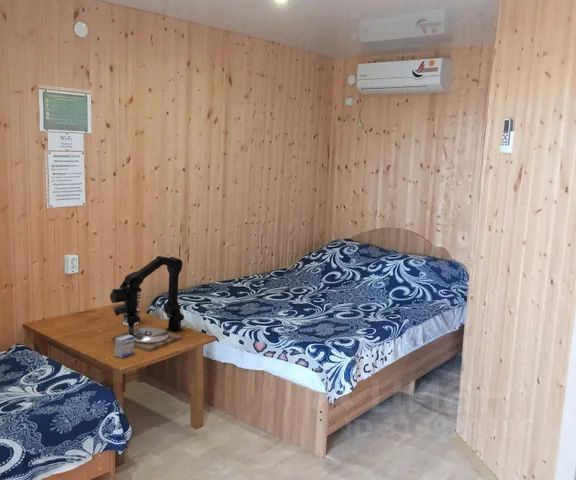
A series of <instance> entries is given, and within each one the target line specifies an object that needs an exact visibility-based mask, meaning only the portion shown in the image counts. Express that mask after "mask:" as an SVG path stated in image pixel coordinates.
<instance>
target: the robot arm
mask: <svg viewBox="0 0 576 480" xmlns="http://www.w3.org/2000/svg"><path fill="white" fill-rule="evenodd" d="M162 266H166V269H167V271H168V294H167V295H168V297H167V299H168V300H167V301H166V302H164V303H163V312H164V313H165V315H166V317H167V318H169V319H168V327H167V328H165V329H166V330H165V331H171V332H172V333H177V332H180V331H181V330H183V328H182V326H181V325H182V321H183V320H184V318H185V315H184V314H183V313H181V307H180V303H179V301H178V297H179V295H178V293H179V278H180V277H179V275H180V273H181V271H182V270H183V261H182V259H180V258H178V257H175V256H170V257H167V256H162V255H158V256H156V258H154V259H153V260H152V261H150V262H149V263H148V264H146V265H144V266H142V268H140V269H139V270H137V271H134V272H131V273H129V274H127V275H126V276H125V277H124V280H123V282H122V283H121V285H120V286H119V288H112V291H111V292H110V295H109V298H110V299H109V300H110V301H111V303H112V304H116V303H117V304H118V303H122V304H119V305H117V306H114V307H113V308H112V309H113V312H114V315H115V316H116V317H118V316H120V315H123V313H125V315H123V316H124V317H125V319H126V321H127V322H128V325H127V327H128V328H129V326H130V325H133V326H135V325H134V324H135V322H139V323H140V322H141V317H140V314H139V315H138V314H135V313H138V311H137V305H138V302H137V299H138V291H141V292H142V291H143V289H142V288H141V286H140V287H139V285H141V284H143V283H144V280H145V279H146V278H147V277H149V276H151V274H153V273H154V272H155V271H157V270H158V269H160V268H161V267H162ZM127 286H130V287H127ZM140 288H141V289H140ZM125 300H126V301H125ZM124 301H125V302H124Z"/></svg>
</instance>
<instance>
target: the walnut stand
mask: <svg viewBox="0 0 576 480" xmlns="http://www.w3.org/2000/svg"><path fill="white" fill-rule="evenodd" d="M139 328H156V327H153V326H152V325H144V326H141V327H138V328H137V329H139ZM165 331H166V332H167V333H168V338H167V339H166V340H164V341H162V342H158V343H138V342H134V348H137V349H140V350H142V351H146V352H148V353H149V352H152V351H155V350H157V349H160V348H162V347H165V346H167V345H170V344H172V343H175V342H178V341H180V340H182V339H183V336H182V335H180V334H176V333H175V332H169V331H168V330H165ZM128 333H129V331H127V332H123V333H121V334H117V335H114V336H113V337H112V340H114V341H115V338H118V337H122V336H125V335H128Z"/></svg>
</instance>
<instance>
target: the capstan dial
mask: <svg viewBox="0 0 576 480" xmlns="http://www.w3.org/2000/svg"><path fill="white" fill-rule="evenodd" d="M138 328H139V329H138ZM138 328H135V325H130V326H129V327H128V332H129V333H128V335H132V336H134V342H138V343H158V342H162V341H164V340H166V339H167V338H168V333H167V332H168V331H167V330H164V329H161V328H157V327H155V328H141V327H138ZM166 331H167V332H166Z"/></svg>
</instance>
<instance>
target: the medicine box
mask: <svg viewBox="0 0 576 480" xmlns="http://www.w3.org/2000/svg"><path fill="white" fill-rule="evenodd" d="M134 349H135V347H134V336H132V335H125V336H122V337H118V338H115V340H114V356H115V357H118V358H121V359H122V358H125V357H128V356H130V355H134Z"/></svg>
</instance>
